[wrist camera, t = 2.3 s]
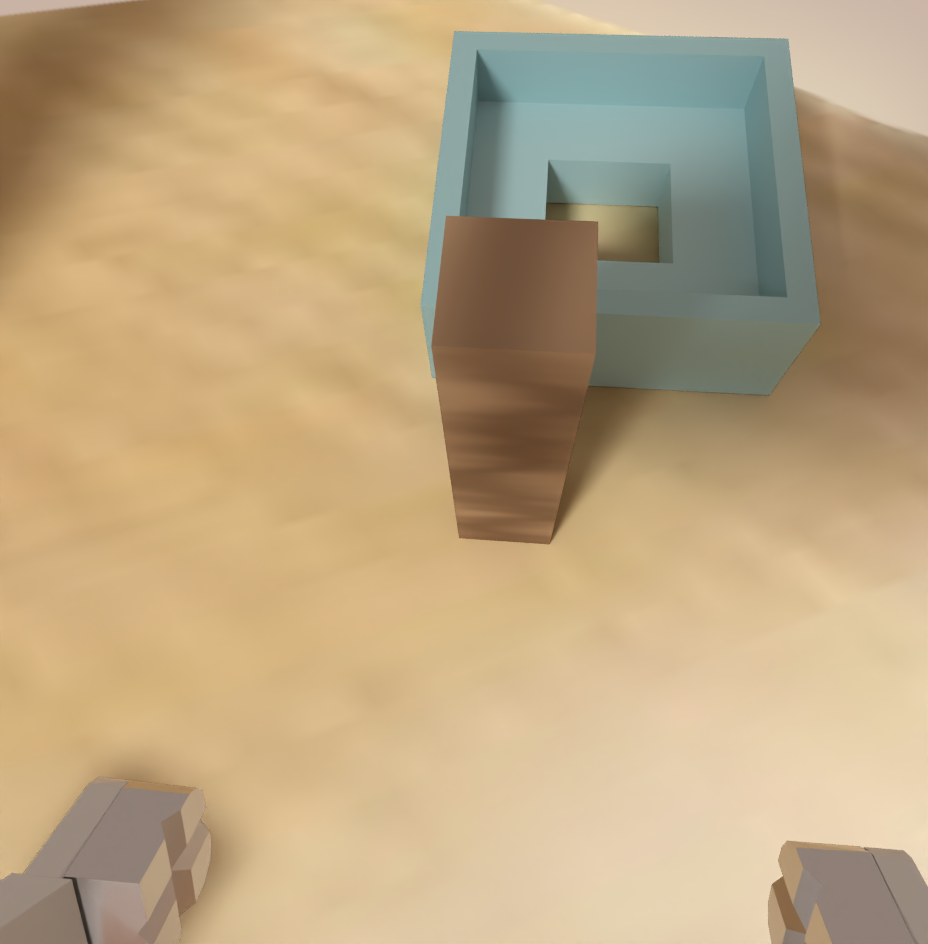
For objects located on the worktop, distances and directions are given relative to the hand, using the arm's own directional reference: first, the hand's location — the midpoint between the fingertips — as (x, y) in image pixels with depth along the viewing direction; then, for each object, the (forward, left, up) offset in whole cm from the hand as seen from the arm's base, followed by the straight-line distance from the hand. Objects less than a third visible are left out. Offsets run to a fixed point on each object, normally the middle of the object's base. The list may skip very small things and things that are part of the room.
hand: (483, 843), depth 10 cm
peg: (0, +12, -20) cm, 24 cm away
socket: (+4, +26, -20) cm, 33 cm away
